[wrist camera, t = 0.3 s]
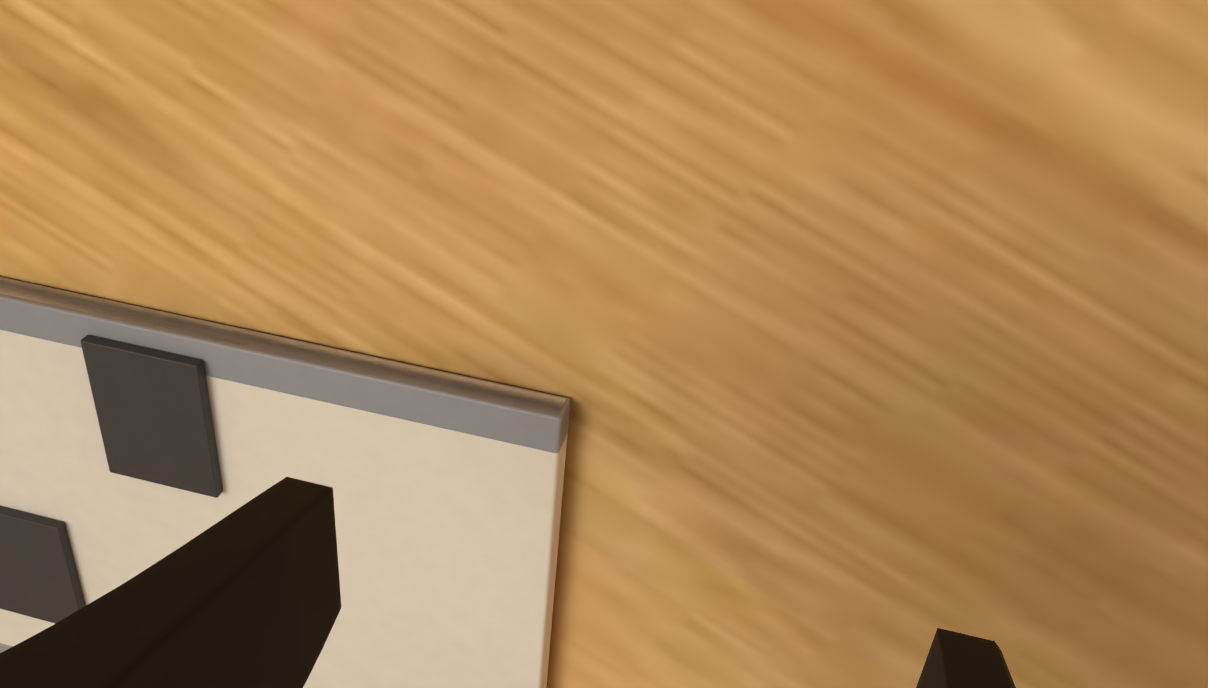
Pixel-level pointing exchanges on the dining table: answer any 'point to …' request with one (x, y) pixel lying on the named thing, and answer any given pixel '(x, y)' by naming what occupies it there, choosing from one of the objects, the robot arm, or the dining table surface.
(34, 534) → the charcoal rectangular plate
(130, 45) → the dining table surface
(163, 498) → the whiteboard
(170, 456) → the dark grey tile
